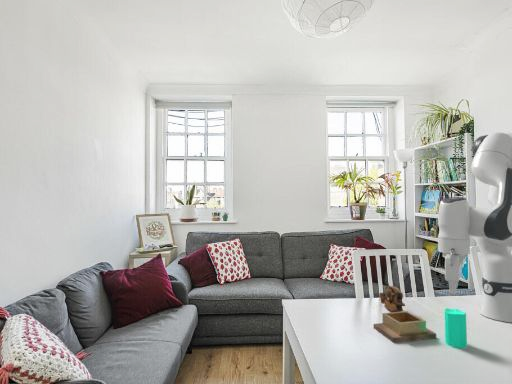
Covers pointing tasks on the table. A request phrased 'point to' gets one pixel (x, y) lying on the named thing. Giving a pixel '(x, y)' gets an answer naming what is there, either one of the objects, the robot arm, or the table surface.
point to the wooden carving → (392, 299)
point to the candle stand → (403, 327)
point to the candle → (455, 328)
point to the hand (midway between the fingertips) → (453, 290)
